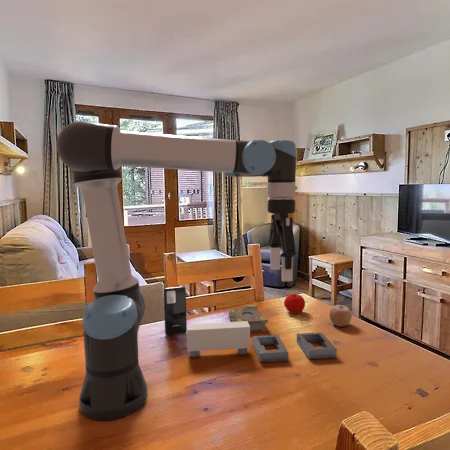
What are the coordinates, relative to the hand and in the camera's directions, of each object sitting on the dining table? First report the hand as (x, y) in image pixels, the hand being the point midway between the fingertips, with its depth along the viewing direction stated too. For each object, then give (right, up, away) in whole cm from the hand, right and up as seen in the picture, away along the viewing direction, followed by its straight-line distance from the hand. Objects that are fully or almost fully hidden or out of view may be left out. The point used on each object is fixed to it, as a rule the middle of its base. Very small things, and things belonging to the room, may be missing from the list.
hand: (280, 274), depth 99 cm
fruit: (+25, -21, +25) cm, 41 cm away
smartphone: (-32, -23, +20) cm, 44 cm away
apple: (+11, -20, +38) cm, 44 cm away
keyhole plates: (+5, -23, +6) cm, 25 cm away
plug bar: (-17, -24, +5) cm, 30 cm away
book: (-8, -22, +27) cm, 36 cm away
